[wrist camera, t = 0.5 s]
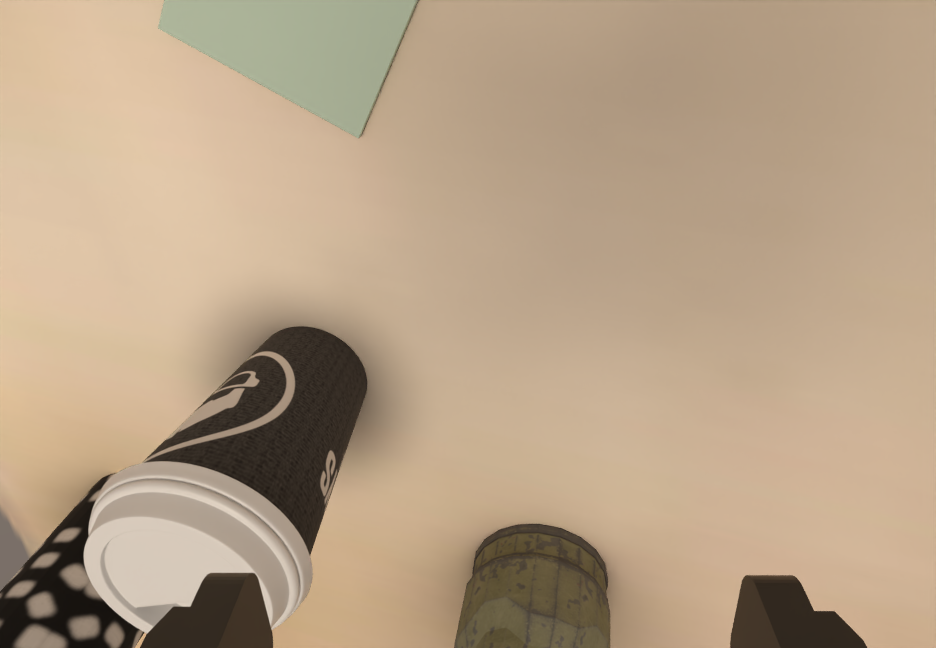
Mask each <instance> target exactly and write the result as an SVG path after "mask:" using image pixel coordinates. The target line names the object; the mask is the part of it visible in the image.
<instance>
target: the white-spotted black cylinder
mask: <svg viewBox="0 0 936 648" xmlns="http://www.w3.org/2000/svg"><path fill="white" fill-rule="evenodd" d="M113 475H115V474H112V475H109V476H106V477H104V478H102V479H101V480H100V481H98V482H97V483H96V484H95V485H94V486H93V488H92V489H91V490H90V491H89V492H88V493H87V494H86V495H85V497H84V498H83V499H82V500H81V501H80V502H79V503H78V504H77V506H76V507H75V508H74V509H73V510H72V511H71V512H70V513H69V515H68V516H67V517H66V518H65V519H64V520H63V521H62V523H61V524H60V525H59V526H58V527H57V528H56V529H55V530H54V532H53V533H52V534H51V535H50V536H49V537H48V538H47V539H46V541H45V542H44V543H43V544H42V545H41V546H40V547H39V548H38V550H37V551H36V552H35V553H34V554H33V555H32V556H31V557H30V559H29V560H28V561H27V562H26V563H25V564H24V566H23V567H22V568H21V569H20V570H19V571H18V572H17V574H15V576H14V577H13V578H12V579H11V580H10V581H9V583H7V585H6V586H5V587H4V588H3V589H2V590H1V591H0V648H135V646H136V645H137V643H138V642H139V640H140V638H141V637H142V635H143V634H144V632H143V631H141V630H140V629H138V628H136V627H135V626H133V625H132V624H130V623H129V622H127V621H126V620H125V619H123V618H122V617H121V616H120V615H118V614H117V613H116V612H115V611H114V610H113V609H112V608H111V607H110V606H109V605H108V604H107V603H106V602H105V601H104V600H103V599H102V598H101V596H100V595H99V594H98V593H97V591H96V590H95V588H94V587H93V585H92V583H91V581H90V579H89V577H88V575H87V572H86V569H85V565H84V548H85V544H86V541H87V539H88V537H89V534H88V528H89V520H90V517H91V513H92V509H93V506H94V504H95V501H96V499H97V497H98V495H99V493H100V491H101V489H102V487H103V486H104V484H105V483H106V482H107V481H108V480H109V479H110V478H111V477H112V476H113Z"/></svg>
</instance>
